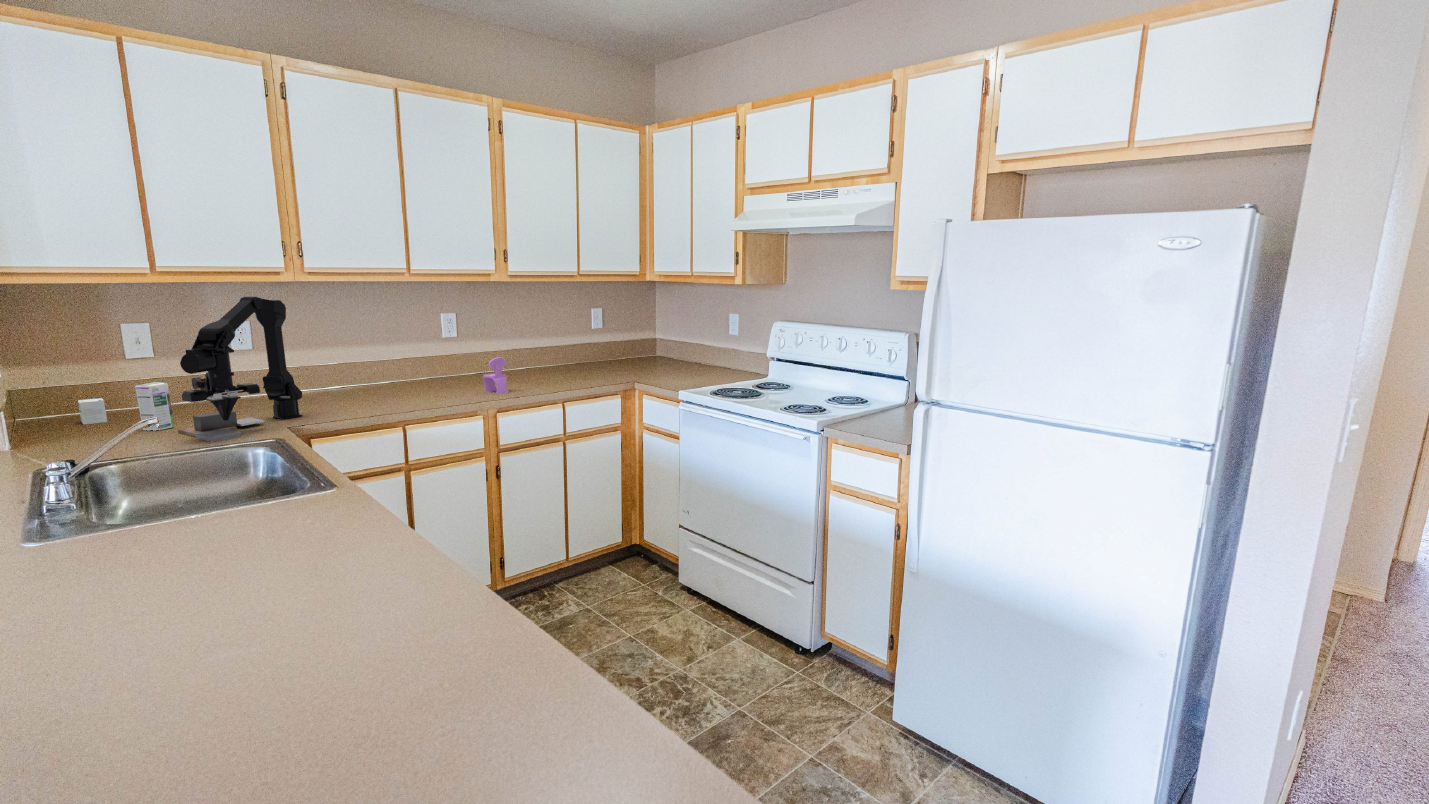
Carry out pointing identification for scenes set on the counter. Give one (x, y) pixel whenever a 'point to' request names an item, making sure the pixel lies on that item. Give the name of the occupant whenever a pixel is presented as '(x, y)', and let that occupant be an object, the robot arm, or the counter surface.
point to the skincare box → (92, 411)
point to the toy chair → (496, 377)
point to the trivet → (192, 431)
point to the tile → (218, 435)
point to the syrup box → (155, 404)
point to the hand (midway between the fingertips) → (225, 420)
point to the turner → (220, 421)
